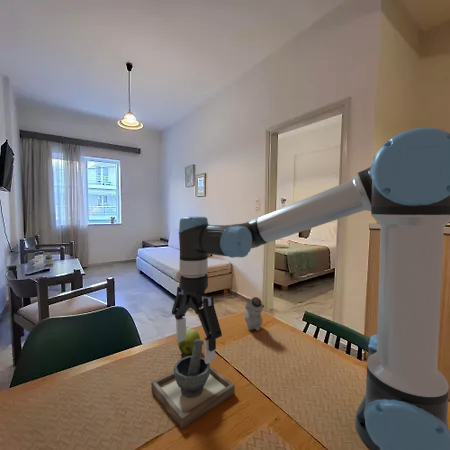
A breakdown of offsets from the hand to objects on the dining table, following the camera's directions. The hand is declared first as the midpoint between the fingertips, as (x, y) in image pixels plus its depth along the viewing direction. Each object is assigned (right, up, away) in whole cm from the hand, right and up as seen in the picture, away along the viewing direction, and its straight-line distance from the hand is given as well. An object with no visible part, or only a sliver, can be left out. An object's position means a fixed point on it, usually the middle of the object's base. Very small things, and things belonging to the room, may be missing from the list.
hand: (194, 350), depth 69 cm
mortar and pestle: (-1, -11, +1) cm, 11 cm away
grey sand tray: (-1, -12, +1) cm, 13 cm away
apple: (-4, -11, +21) cm, 24 cm away
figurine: (+21, -10, +37) cm, 44 cm away
